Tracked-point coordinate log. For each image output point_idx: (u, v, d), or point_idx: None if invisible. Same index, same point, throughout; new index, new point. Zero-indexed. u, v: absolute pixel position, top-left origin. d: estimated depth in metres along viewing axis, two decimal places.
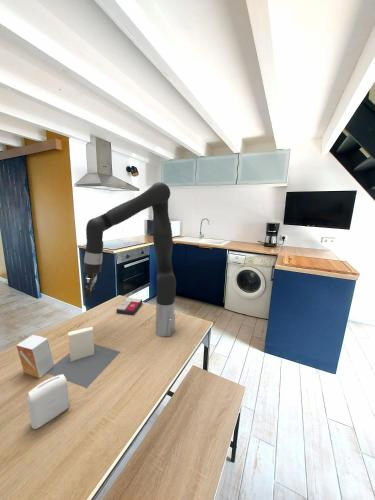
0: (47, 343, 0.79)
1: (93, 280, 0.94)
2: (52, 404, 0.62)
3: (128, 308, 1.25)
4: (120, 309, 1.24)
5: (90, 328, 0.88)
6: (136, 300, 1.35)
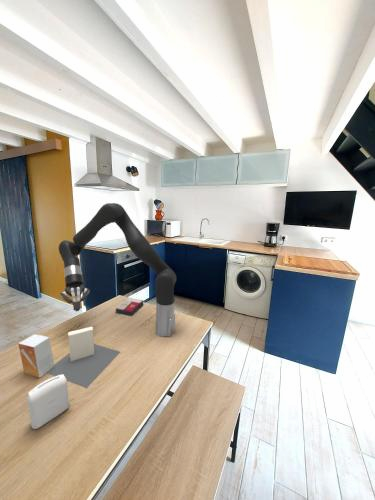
0: (48, 342, 0.80)
1: (71, 292, 0.96)
2: (52, 404, 0.62)
3: (127, 308, 1.25)
4: (119, 309, 1.25)
5: (90, 328, 0.88)
6: (137, 300, 1.35)
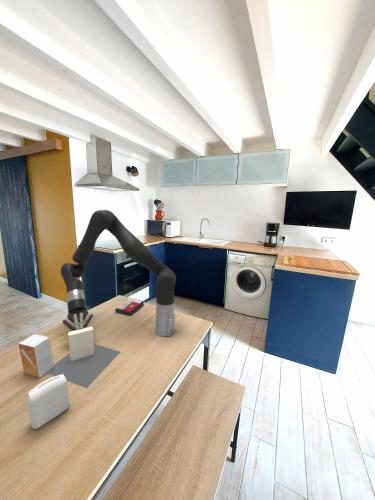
0: (48, 342, 0.80)
1: (74, 319, 0.93)
2: (52, 404, 0.62)
3: (126, 308, 1.25)
4: (119, 308, 1.25)
5: (90, 328, 0.88)
6: (137, 301, 1.34)
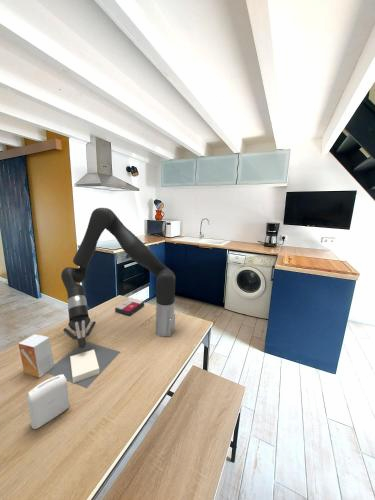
0: (48, 342, 0.80)
1: (75, 327, 0.87)
2: (52, 404, 0.62)
3: (125, 308, 1.25)
4: (118, 308, 1.25)
5: (97, 372, 0.80)
6: (138, 301, 1.34)
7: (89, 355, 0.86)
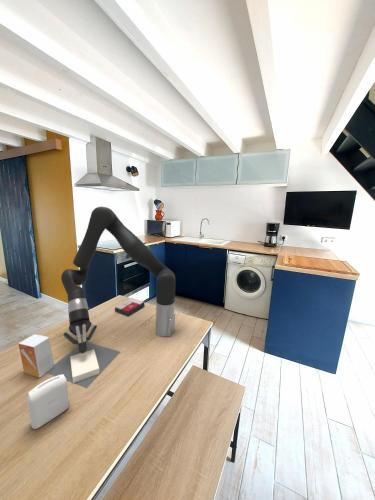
0: (48, 342, 0.80)
1: (76, 332, 0.84)
2: (52, 404, 0.62)
3: (125, 308, 1.25)
4: (118, 308, 1.26)
5: (97, 372, 0.80)
6: (138, 301, 1.33)
7: (89, 355, 0.86)
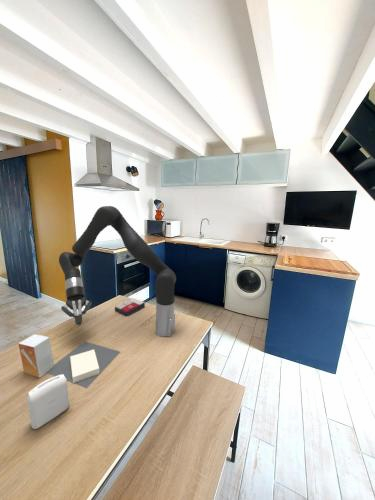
0: (48, 342, 0.80)
1: (72, 306, 0.94)
2: (52, 404, 0.62)
3: (124, 308, 1.25)
4: (117, 307, 1.26)
5: (97, 372, 0.80)
6: (138, 302, 1.33)
7: (89, 355, 0.86)
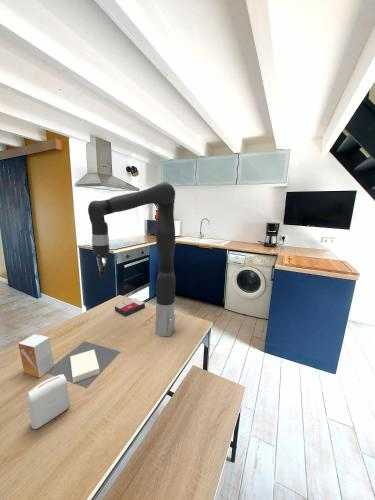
0: (48, 342, 0.80)
1: (105, 261, 1.01)
2: (52, 404, 0.62)
3: (123, 308, 1.25)
4: (117, 307, 1.27)
5: (97, 372, 0.80)
6: (138, 302, 1.32)
7: (89, 355, 0.86)
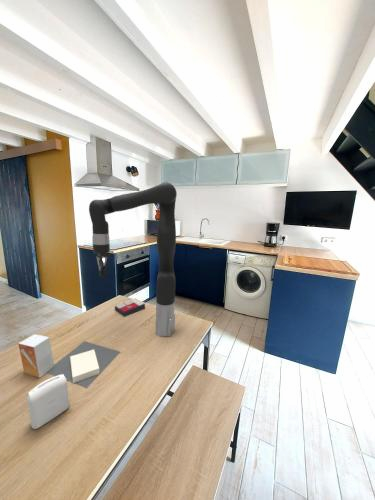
0: (48, 342, 0.80)
1: (105, 261, 1.00)
2: (52, 404, 0.62)
3: (123, 308, 1.25)
4: (117, 307, 1.27)
5: (97, 372, 0.80)
6: (138, 303, 1.32)
7: (89, 355, 0.86)
